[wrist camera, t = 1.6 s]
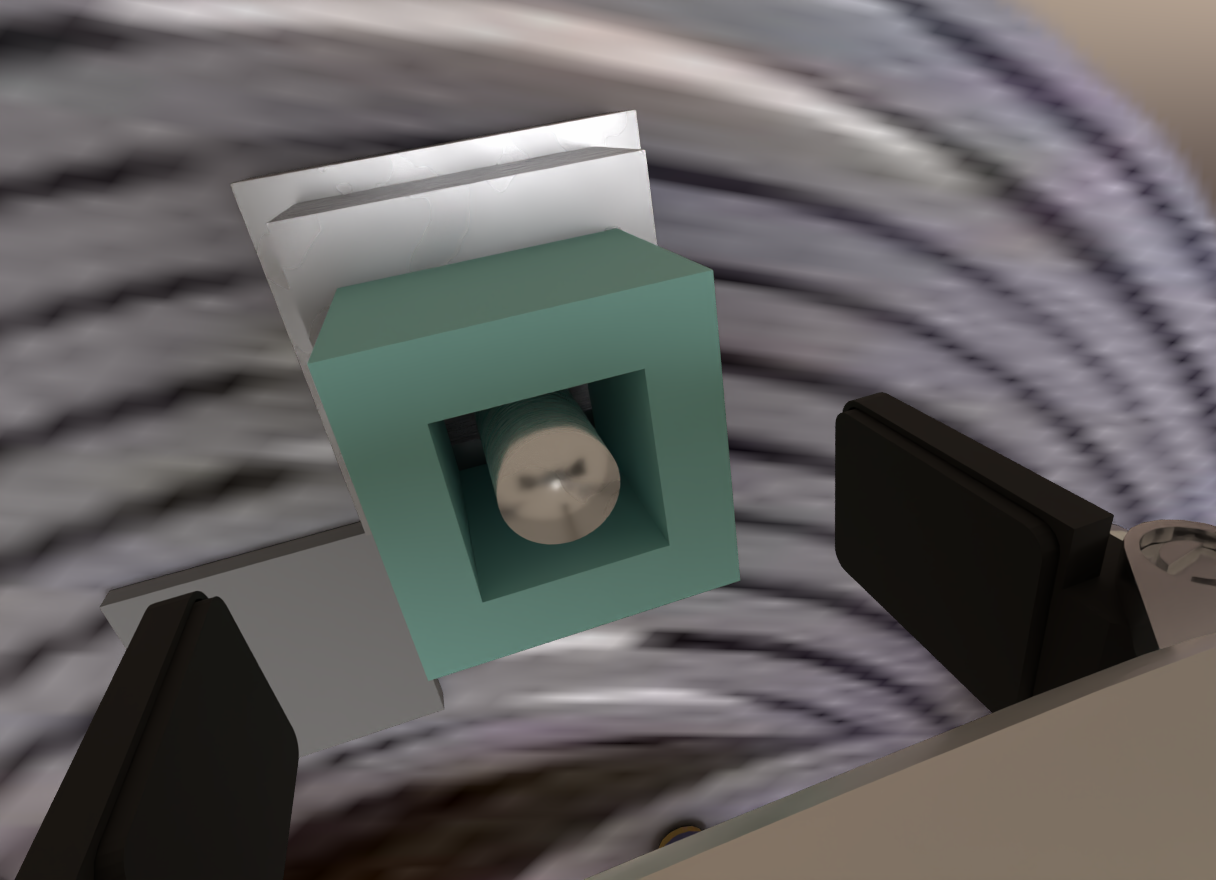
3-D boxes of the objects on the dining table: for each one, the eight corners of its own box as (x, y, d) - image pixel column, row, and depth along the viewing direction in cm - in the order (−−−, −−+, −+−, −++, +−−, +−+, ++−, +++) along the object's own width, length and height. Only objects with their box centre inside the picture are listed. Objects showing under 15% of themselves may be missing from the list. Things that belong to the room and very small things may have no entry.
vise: (665, 511, 31) (840, 757, 19) (403, 588, 29) (407, 924, 17) (609, 112, 24) (838, 89, 11) (250, 177, 21) (52, 237, 9)
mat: (442, 693, 32) (444, 709, 31) (219, 766, 30) (213, 785, 29) (377, 517, 27) (376, 529, 26) (109, 591, 26) (99, 607, 25)
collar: (652, 465, 20) (739, 580, 15) (420, 530, 19) (428, 681, 14) (617, 228, 17) (712, 269, 12) (336, 288, 16) (306, 363, 11)
